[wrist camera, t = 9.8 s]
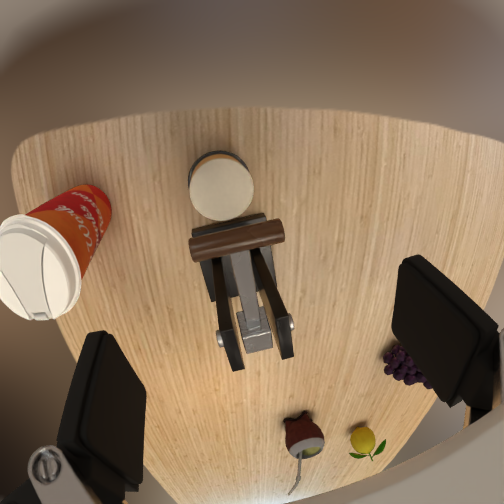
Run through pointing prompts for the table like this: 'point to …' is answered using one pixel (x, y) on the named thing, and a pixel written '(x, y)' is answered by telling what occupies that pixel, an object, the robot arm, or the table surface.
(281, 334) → the lever base stand
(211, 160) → the cake
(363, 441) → the lemon
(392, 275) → the table surface
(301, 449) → the mate gourd
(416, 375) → the fruit
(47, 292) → the coffee cup
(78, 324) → the table surface
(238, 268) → the lever
